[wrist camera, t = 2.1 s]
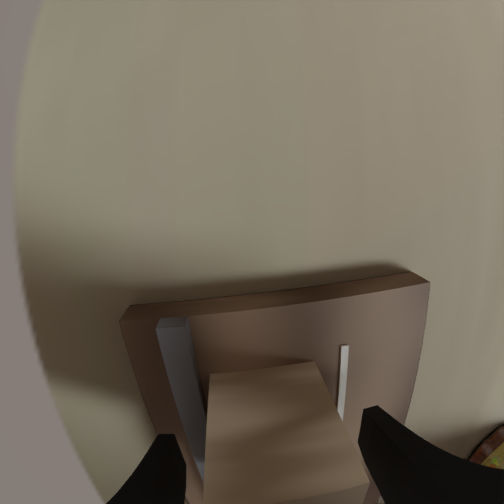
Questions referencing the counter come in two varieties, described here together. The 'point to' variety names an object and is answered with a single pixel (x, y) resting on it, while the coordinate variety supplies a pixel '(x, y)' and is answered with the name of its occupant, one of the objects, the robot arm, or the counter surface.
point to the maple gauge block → (278, 440)
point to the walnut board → (279, 352)
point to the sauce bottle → (491, 450)
